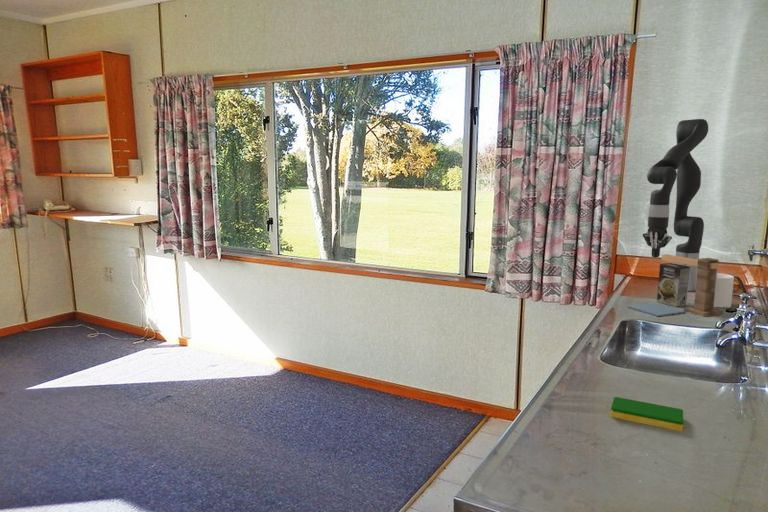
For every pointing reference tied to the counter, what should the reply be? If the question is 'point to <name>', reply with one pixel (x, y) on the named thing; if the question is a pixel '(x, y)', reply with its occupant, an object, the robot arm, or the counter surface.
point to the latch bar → (687, 261)
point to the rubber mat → (656, 309)
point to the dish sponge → (647, 413)
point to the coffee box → (673, 284)
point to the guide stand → (705, 289)
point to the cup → (723, 290)
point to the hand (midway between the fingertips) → (655, 257)
